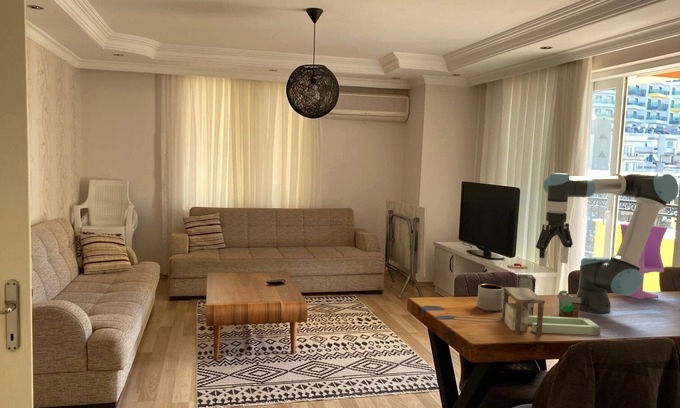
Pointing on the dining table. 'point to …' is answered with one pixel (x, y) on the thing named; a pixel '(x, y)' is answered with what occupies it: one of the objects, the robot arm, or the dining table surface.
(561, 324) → the pale green tray
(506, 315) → the beech block
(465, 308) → the dining table surface
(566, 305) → the food container
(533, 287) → the coffee box
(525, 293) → the brown legged piece
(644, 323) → the dining table surface
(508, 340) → the dining table surface
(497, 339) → the dining table surface
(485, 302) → the planter
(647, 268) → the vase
